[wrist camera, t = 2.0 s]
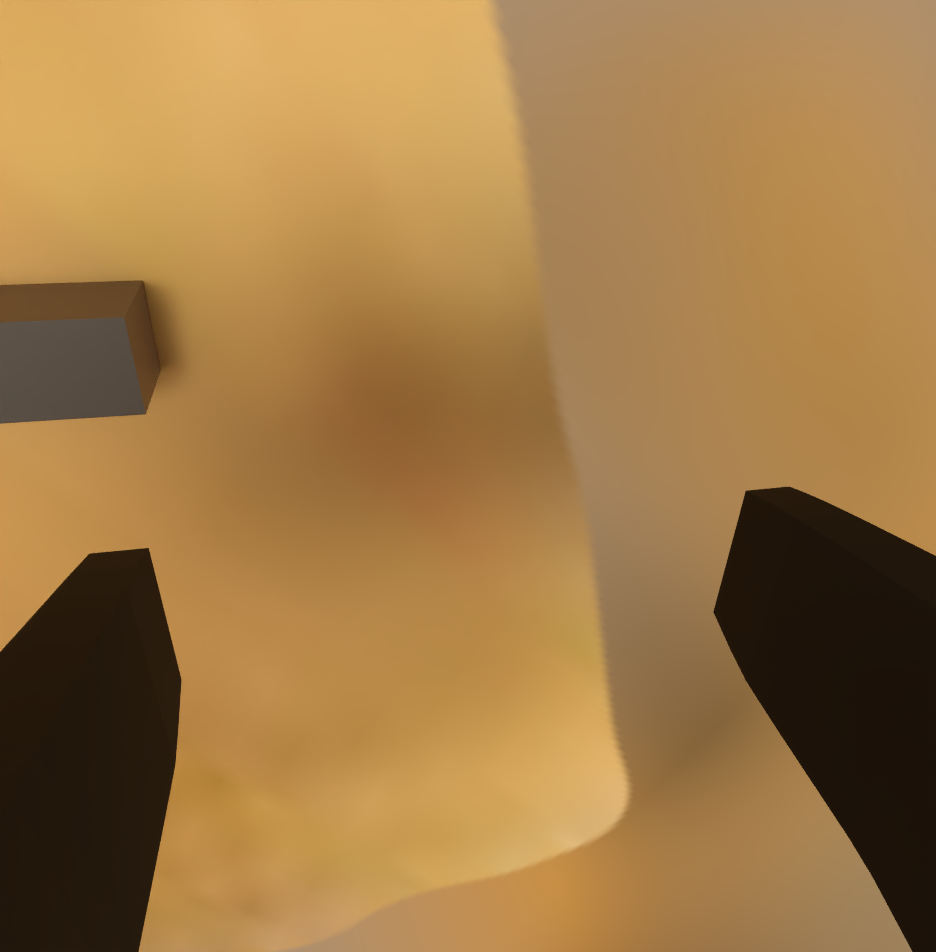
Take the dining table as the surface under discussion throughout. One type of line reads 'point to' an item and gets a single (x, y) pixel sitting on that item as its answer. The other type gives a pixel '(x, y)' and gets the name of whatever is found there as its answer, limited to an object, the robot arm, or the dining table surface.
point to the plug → (75, 351)
